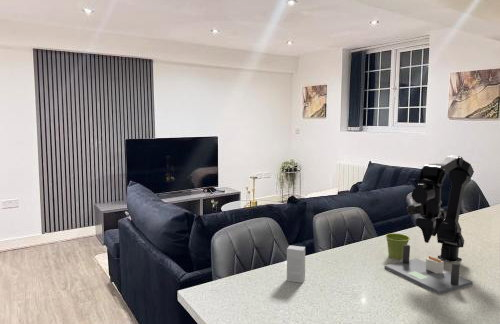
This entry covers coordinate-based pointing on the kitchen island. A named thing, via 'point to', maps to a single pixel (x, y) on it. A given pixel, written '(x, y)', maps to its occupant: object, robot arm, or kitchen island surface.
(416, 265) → the panel
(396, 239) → the plant pot
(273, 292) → the kitchen island surface
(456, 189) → the robot arm
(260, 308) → the kitchen island surface
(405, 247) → the cord post
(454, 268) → the cord post
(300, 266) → the skincare box
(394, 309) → the kitchen island surface
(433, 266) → the orange striped block
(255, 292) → the kitchen island surface
